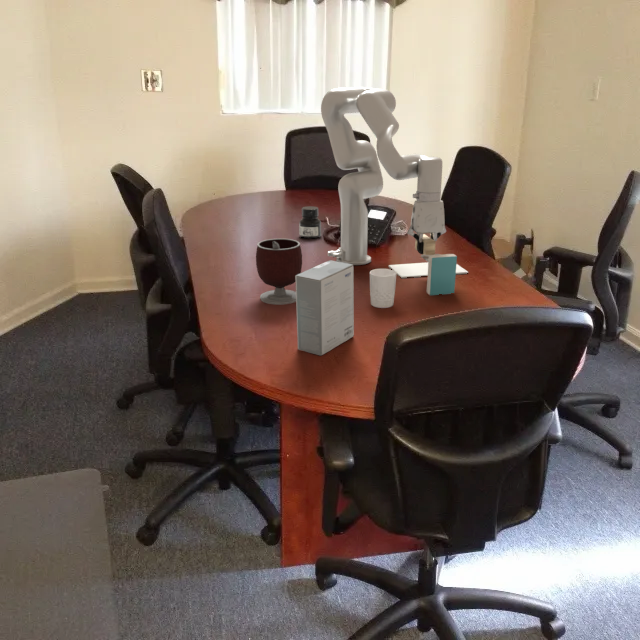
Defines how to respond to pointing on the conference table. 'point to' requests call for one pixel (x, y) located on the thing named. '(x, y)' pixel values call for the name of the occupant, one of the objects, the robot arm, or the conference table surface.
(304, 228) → the ink bottle
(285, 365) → the conference table surface
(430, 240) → the cream block on base
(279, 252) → the mate gourd
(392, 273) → the white cup
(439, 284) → the tile
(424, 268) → the mat
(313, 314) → the hard drive box
